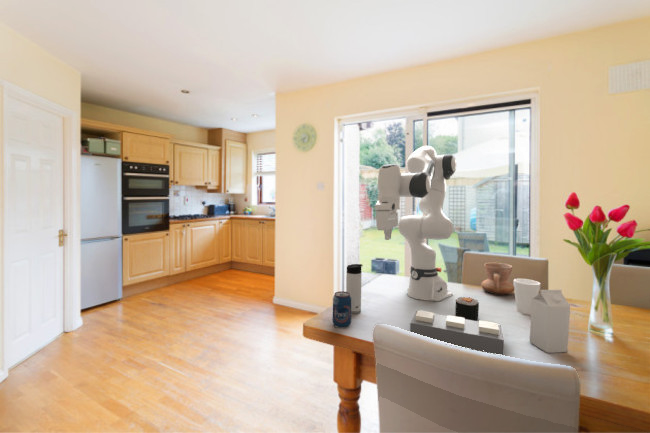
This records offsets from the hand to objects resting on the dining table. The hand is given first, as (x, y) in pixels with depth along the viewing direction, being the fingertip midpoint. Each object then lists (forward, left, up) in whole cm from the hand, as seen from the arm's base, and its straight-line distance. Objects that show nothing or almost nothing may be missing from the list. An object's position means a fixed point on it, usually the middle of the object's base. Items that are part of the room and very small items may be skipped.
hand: (387, 239), depth 123 cm
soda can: (+21, -1, -31) cm, 38 cm away
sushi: (-26, +18, -31) cm, 45 cm away
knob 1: (-1, +19, -30) cm, 35 cm away
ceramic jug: (-69, +5, -31) cm, 76 cm away
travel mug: (+9, -10, -31) cm, 34 cm away
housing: (-7, +27, -31) cm, 42 cm away
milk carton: (-28, +46, -31) cm, 62 cm away
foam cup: (-54, +26, -31) cm, 68 cm away
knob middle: (-7, +27, -30) cm, 41 cm away
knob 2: (-13, +35, -30) cm, 48 cm away
